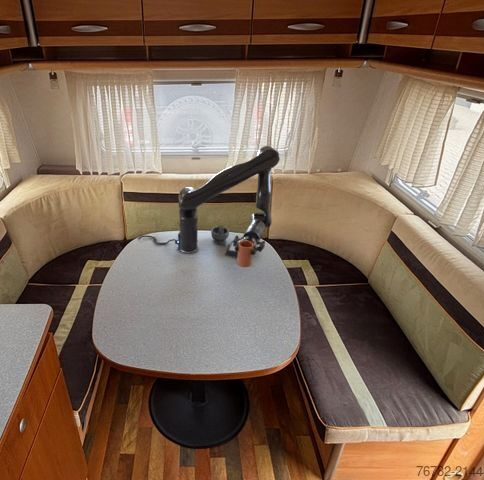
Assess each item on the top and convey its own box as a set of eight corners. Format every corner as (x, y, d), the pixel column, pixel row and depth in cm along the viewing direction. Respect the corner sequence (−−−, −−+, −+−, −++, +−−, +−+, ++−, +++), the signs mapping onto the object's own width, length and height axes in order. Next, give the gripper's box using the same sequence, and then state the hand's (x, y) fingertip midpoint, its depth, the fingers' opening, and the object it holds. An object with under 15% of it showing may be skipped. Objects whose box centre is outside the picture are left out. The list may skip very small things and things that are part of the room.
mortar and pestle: (210, 237, 198) (211, 217, 192) (227, 237, 199) (228, 217, 193) (211, 247, 189) (212, 227, 183) (229, 247, 189) (230, 227, 183)
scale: (226, 254, 182) (226, 249, 181) (232, 243, 192) (232, 239, 191) (248, 259, 179) (249, 254, 177) (254, 248, 188) (255, 243, 187)
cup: (235, 265, 157) (237, 246, 152) (239, 258, 162) (240, 239, 157) (249, 268, 155) (251, 249, 150) (252, 261, 160) (255, 242, 155)
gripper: (239, 224, 166) (228, 240, 153) (269, 230, 162) (261, 247, 148) (237, 238, 170) (227, 255, 157) (267, 244, 166) (259, 262, 152)
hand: (244, 251), depth 153 cm, fingers closed on cup, 6 cm apart
